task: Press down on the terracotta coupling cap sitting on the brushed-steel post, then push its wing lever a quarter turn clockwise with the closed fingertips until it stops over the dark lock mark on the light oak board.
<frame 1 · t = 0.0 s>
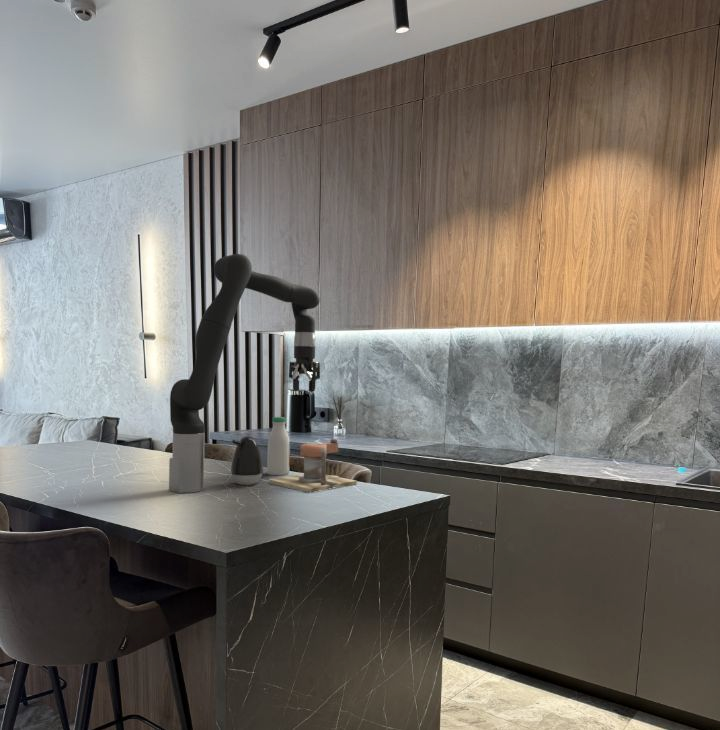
hand: (303, 391, 210), 29 cm above the countertop, tool pointing down, fingers open, 8 cm apart
pump dispenser: (246, 484, 189), on the countertop
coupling: (320, 447, 193), point 12 cm above the countertop, hinge at 0.0°
post board: (312, 483, 191), on the countertop
milk bottle: (278, 474, 208), on the countertop
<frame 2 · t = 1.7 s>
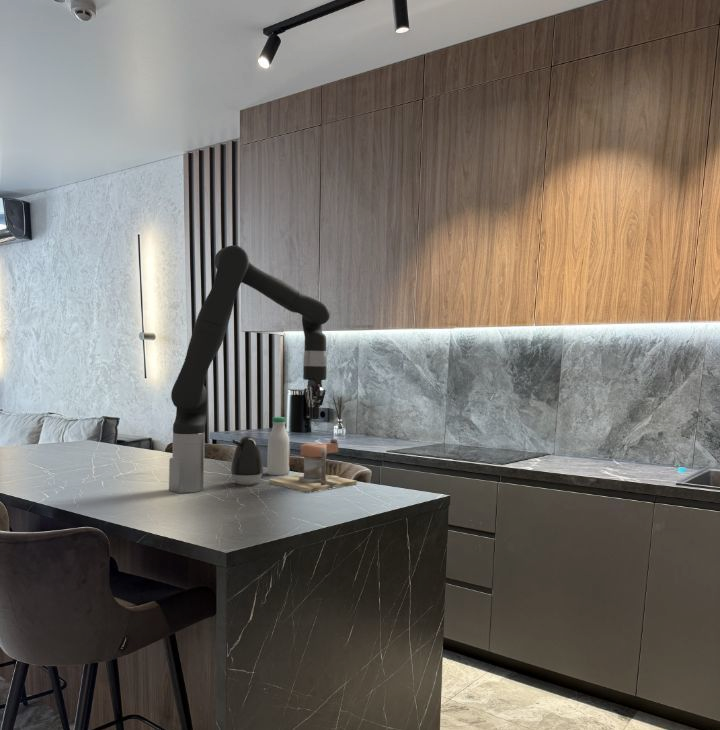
hand: (314, 418, 191), 21 cm above the countertop, tool pointing down, fingers closed
nothing on the countertop moved.
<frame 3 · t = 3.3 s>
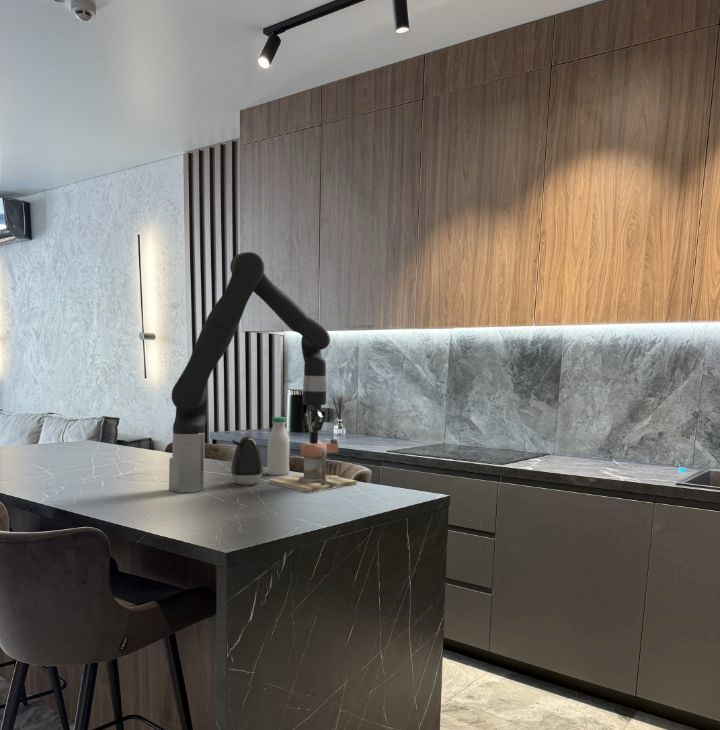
hand: (313, 443, 191), 13 cm above the countertop, tool pointing down, fingers closed
nothing on the countertop moved.
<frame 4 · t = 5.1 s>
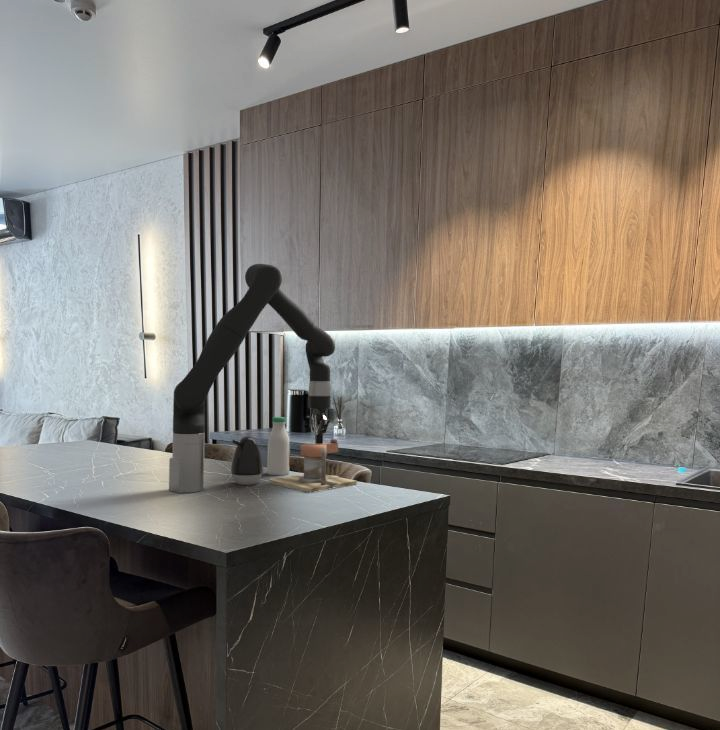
hand: (318, 445, 201), 11 cm above the countertop, tool pointing down, fingers closed
nothing on the countertop moved.
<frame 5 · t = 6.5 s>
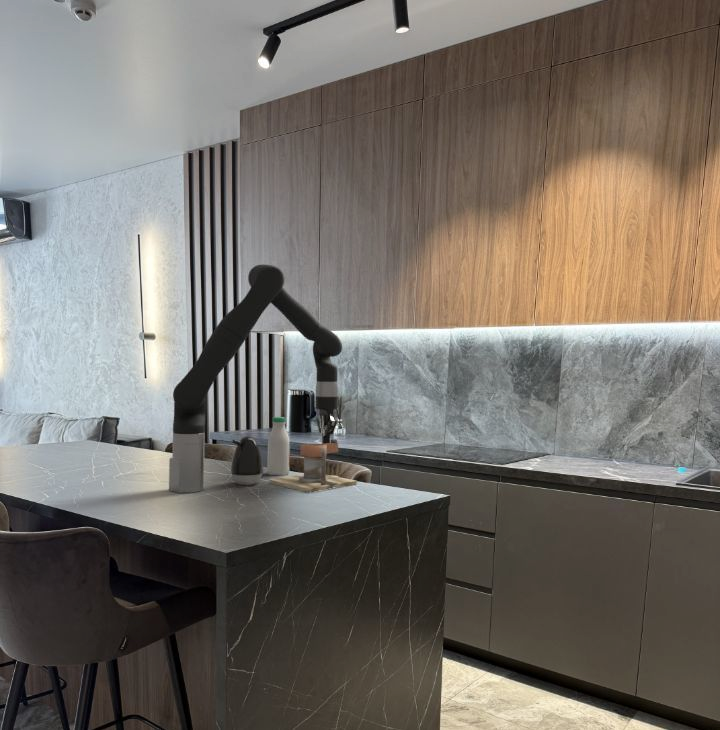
hand: (325, 446, 199), 11 cm above the countertop, tool pointing down, fingers closed
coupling: (320, 447, 193), point 12 cm above the countertop, hinge at -0.1°, touching gripper
everything else where it was.
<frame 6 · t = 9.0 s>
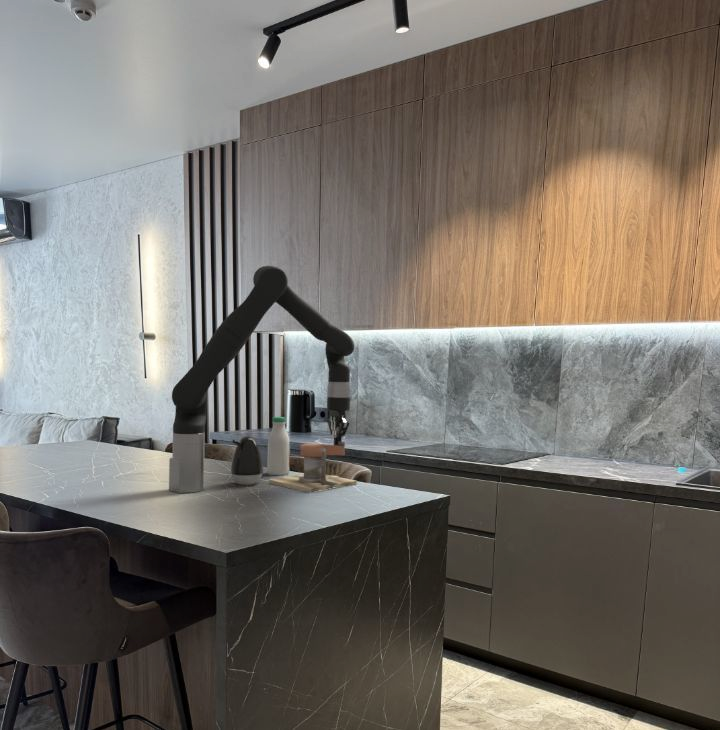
hand: (337, 448, 194), 11 cm above the countertop, tool pointing down, fingers closed
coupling: (322, 448, 191), point 12 cm above the countertop, hinge at -47.1°, touching gripper
everything else where it was.
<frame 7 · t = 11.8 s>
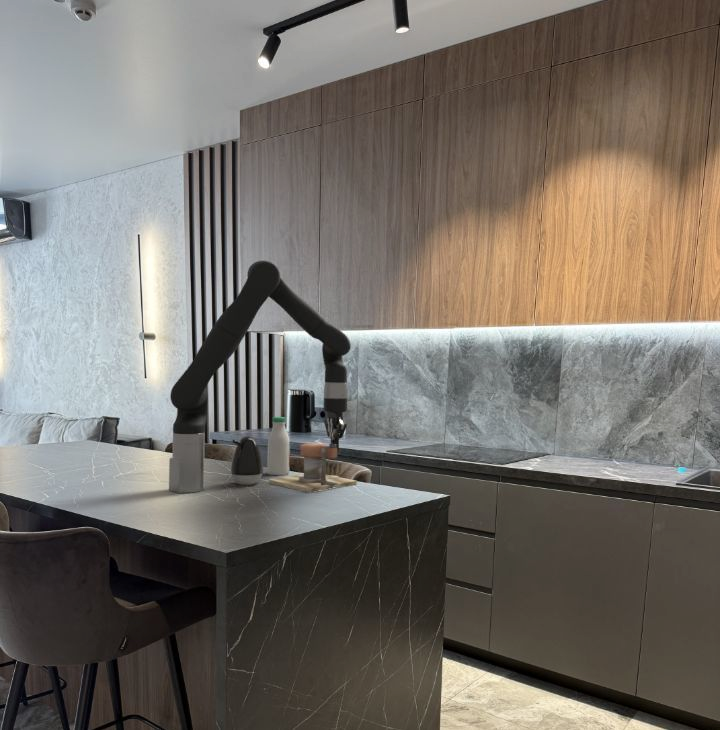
hand: (334, 451, 188), 11 cm above the countertop, tool pointing down, fingers closed
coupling: (319, 449, 189), point 12 cm above the countertop, hinge at -89.7°, touching gripper
everything else where it was.
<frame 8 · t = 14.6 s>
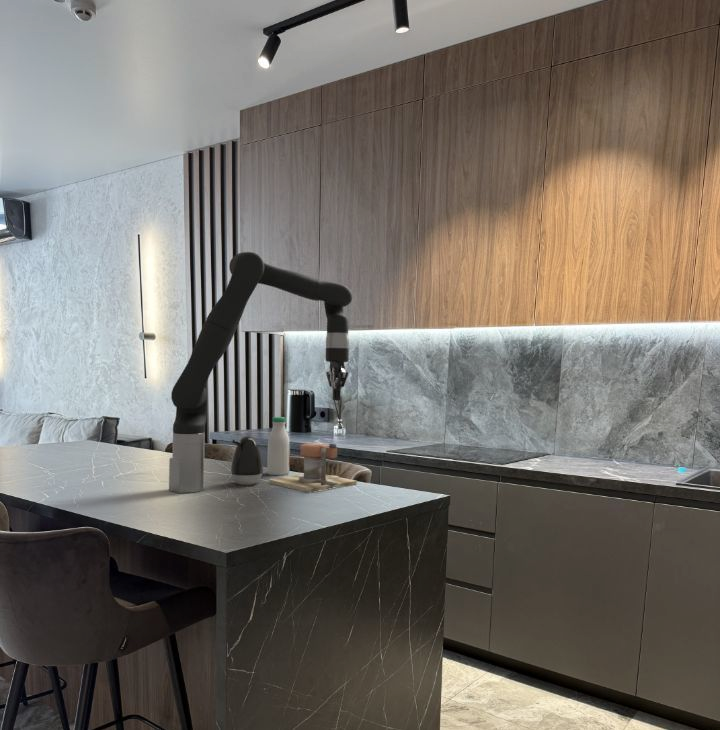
hand: (336, 400, 193), 27 cm above the countertop, tool pointing down, fingers closed
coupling: (319, 449, 189), point 12 cm above the countertop, hinge at -89.8°
everything else where it was.
at the end: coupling at -90° (first picture: +0°); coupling touching nothing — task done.
